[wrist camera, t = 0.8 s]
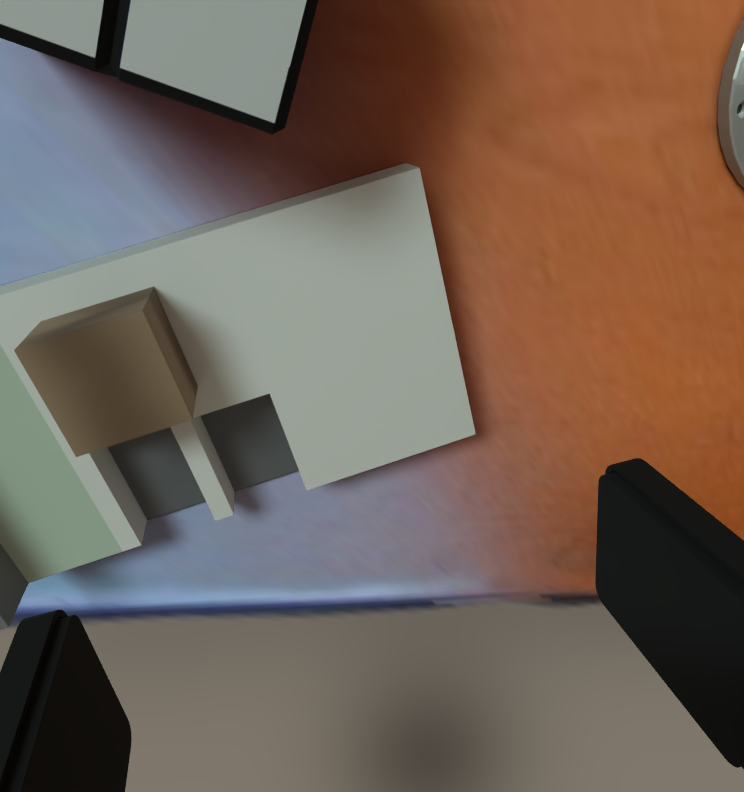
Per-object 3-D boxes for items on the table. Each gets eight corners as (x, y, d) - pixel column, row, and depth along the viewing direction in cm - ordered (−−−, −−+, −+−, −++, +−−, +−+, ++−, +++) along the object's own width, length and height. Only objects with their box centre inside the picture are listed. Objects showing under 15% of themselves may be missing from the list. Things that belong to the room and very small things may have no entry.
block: (153, 286, 27) (142, 310, 23) (197, 386, 29) (192, 419, 26) (40, 321, 26) (13, 350, 23) (94, 418, 29) (76, 457, 25)
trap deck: (405, 162, 29) (439, 174, 24) (460, 413, 35) (496, 463, 30) (-125, 324, 27) (-204, 371, 22) (33, 554, 34) (-2, 630, 29)
